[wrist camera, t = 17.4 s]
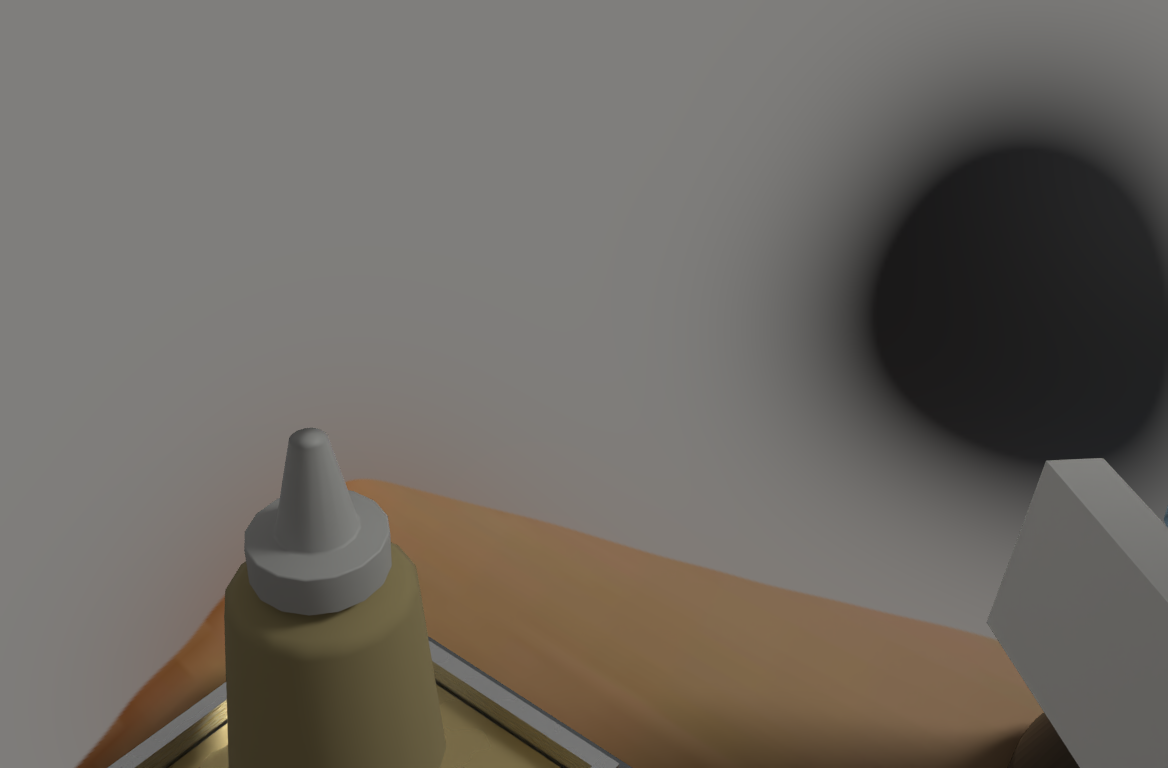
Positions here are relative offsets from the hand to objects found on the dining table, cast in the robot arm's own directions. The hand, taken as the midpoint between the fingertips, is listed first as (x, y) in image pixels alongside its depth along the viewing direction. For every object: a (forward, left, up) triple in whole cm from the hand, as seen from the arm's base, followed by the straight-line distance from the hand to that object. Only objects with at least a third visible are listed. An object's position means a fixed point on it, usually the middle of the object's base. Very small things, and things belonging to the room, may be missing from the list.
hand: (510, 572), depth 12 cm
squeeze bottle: (-10, -16, -29) cm, 34 cm away
